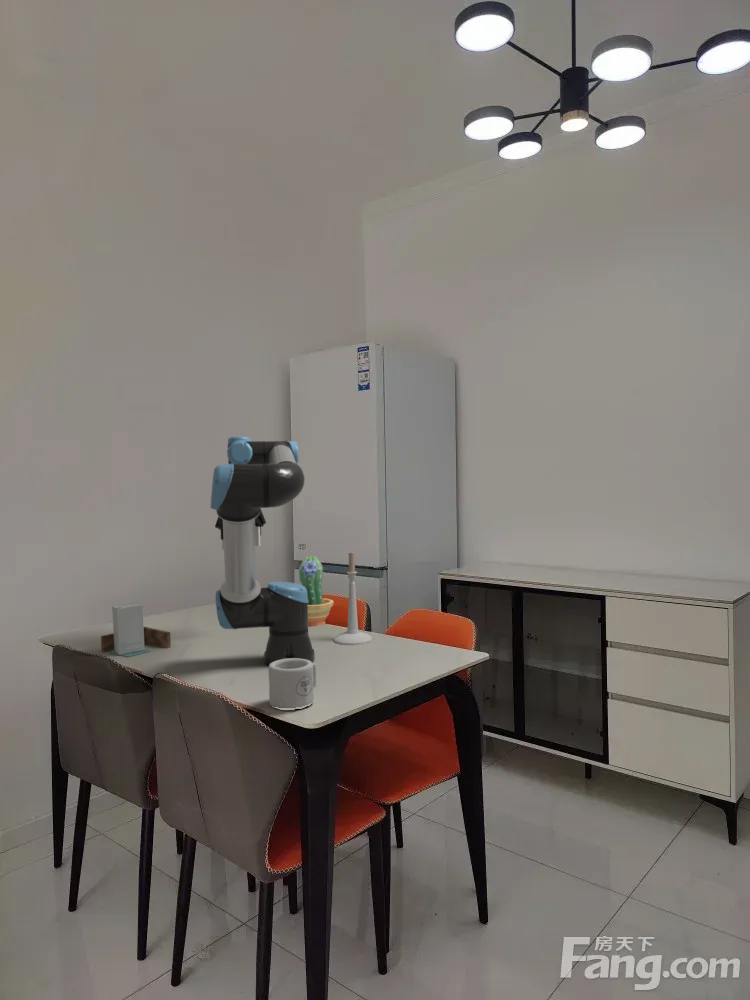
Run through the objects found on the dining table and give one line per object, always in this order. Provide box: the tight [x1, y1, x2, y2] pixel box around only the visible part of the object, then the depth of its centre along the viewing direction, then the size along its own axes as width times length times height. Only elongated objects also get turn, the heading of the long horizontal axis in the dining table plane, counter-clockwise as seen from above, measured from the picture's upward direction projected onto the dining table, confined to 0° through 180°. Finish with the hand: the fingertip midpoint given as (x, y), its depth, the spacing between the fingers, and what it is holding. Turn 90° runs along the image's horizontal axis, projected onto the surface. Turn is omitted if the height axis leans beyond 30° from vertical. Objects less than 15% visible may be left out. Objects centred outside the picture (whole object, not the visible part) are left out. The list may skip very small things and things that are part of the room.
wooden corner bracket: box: [100, 626, 172, 653], centre depth 223 cm, size 14×16×5 cm
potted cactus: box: [298, 555, 335, 627], centre depth 258 cm, size 15×15×25 cm
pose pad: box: [109, 649, 151, 658], centre depth 220 cm, size 10×8×1 cm
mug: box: [268, 658, 317, 708], centre depth 170 cm, size 14×11×10 cm
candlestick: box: [333, 551, 373, 646], centre depth 231 cm, size 13×13×30 cm
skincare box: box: [111, 602, 146, 656], centre depth 219 cm, size 8×6×15 cm
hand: (241, 547), depth 229 cm, fingers open, 13 cm apart
